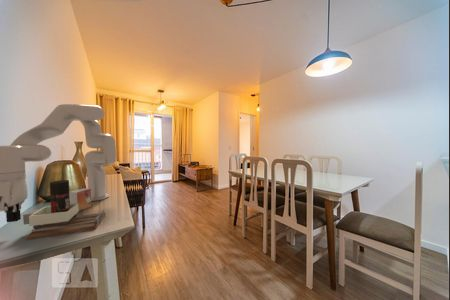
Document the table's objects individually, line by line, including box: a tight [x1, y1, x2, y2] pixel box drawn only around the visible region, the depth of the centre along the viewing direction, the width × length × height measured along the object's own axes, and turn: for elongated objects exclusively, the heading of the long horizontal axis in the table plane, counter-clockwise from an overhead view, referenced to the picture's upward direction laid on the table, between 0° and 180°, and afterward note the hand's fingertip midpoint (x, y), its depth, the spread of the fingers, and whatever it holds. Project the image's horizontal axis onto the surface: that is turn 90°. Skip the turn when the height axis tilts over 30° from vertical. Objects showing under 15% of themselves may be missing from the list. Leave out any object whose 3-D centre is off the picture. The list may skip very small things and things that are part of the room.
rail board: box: [25, 209, 106, 241], centre depth 75 cm, size 14×22×4 cm, turn 112°
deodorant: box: [49, 179, 70, 213], centre depth 73 cm, size 6×6×15 cm
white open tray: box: [22, 203, 80, 229], centre depth 72 cm, size 10×15×6 cm, turn 112°
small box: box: [69, 187, 92, 212], centre depth 93 cm, size 8×6×10 cm
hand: (13, 220), depth 68 cm, fingers closed
